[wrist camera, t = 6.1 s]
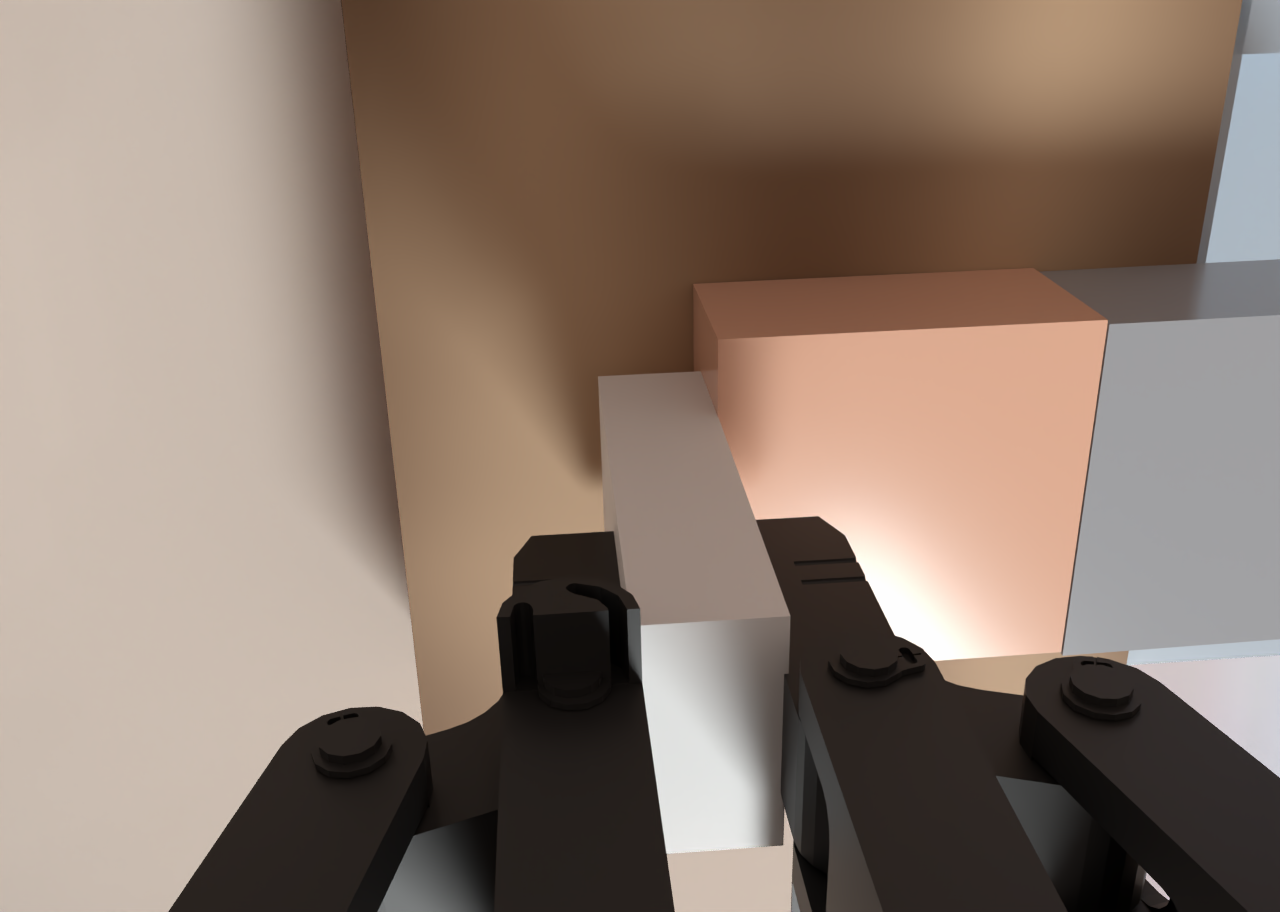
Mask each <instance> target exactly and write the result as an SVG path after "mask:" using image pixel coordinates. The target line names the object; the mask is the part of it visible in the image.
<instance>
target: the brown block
mask: <svg viewBox="0 0 1280 912" xmlns="http://www.w3.org/2000/svg"><path fill="white" fill-rule="evenodd" d="M341 4H342V13H343V22H344V31H345V39H346V48H347V57H348V66H349V75H350V84H351V92H352V101H353V110H354V119H355V128H356V137H357V146H358V154H359V163H360V172H361V181H362V190H363V199H364V207H365V216H366V225H367V234H368V243H369V252H370V261H371V269H372V278H373V287H374V296H375V305H376V314H377V322H378V331H379V340H380V349H381V358H382V367H383V376H384V384H385V393H386V402H387V411H388V420H389V429H390V437H391V446H392V455H393V464H394V473H395V482H396V491H397V499H398V508H399V517H400V526H401V535H402V544H403V552H404V561H405V570H406V579H407V588H408V597H409V606H410V614H411V623H412V632H413V641H414V650H415V659H416V667H417V676H418V685H419V694H420V703H421V712H422V721H423V729H424V733H425V735H430V734H433V733H437V732H440V731H444V730H447V729H450V728H453V727H456V726H458V725H461V724H464V723H466V722H469V721H471V720H472V719H474V718H476V717H478V716H479V715H481V714H483V713H485V712H486V711H487V710H488V709H489V708H491V707H492V706H493V705H494V704H495V703H496V702H497V701H498V700H499V699H500V697H501V696H502V694H503V689H502V677H501V665H500V654H499V642H498V630H497V619H496V617H497V615H498V613H499V610H500V608H501V605H502V603H503V602H504V601H505V600H507V599H508V598H509V597H510V596H512V588H513V560H514V557H515V555H516V554H517V553H518V552H519V551H520V549H521V548H522V547H523V546H524V544H525V543H526V542H527V541H528V540H529V538H530V537H531V536H537V535H554V534H571V533H589V532H604V509H603V485H602V460H601V436H600V412H599V387H598V376H615V375H635V374H655V373H675V372H694V350H693V284H700V283H721V282H742V281H763V280H785V279H806V278H827V277H848V276H870V275H891V274H912V273H933V272H955V271H976V270H997V269H1018V268H1034V269H1036V270H1037V271H1058V270H1078V269H1098V268H1118V267H1137V266H1157V265H1177V264H1196V263H1197V258H1198V252H1199V246H1200V241H1201V235H1202V229H1203V223H1204V218H1205V212H1206V206H1207V200H1208V195H1209V189H1210V183H1211V178H1212V172H1213V166H1214V160H1215V155H1216V149H1217V143H1218V137H1219V132H1220V126H1221V120H1222V115H1223V109H1224V103H1225V97H1226V92H1227V86H1228V80H1229V74H1230V69H1231V63H1232V57H1233V51H1234V46H1235V40H1236V34H1237V29H1238V23H1239V17H1240V11H1241V6H1242V0H341ZM1128 653H1129V651H1118V652H1105V653H1092V654H1079V655H1065V656H1062V654H1061V653H1060V652H1056V653H1042V654H1027V655H1013V656H998V657H984V658H969V659H955V660H940V661H935V663H936V664H937V666H938V668H939V670H940V672H941V674H942V676H943V677H944V679H945V681H948V682H951V683H954V684H957V685H960V686H965V687H970V688H975V689H980V690H987V691H995V692H1002V693H1010V694H1017V695H1024V687H1025V679H1026V678H1027V676H1028V675H1029V674H1030V673H1031V672H1032V670H1033V669H1034V668H1035V667H1036V666H1037V665H1040V664H1042V663H1045V662H1047V661H1050V660H1052V659H1054V658H1062V657H1073V656H1093V657H1095V658H1097V657H1100V658H1106V659H1111V660H1113V661H1116V662H1119V663H1122V664H1125V665H1127V659H1128Z"/></svg>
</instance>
